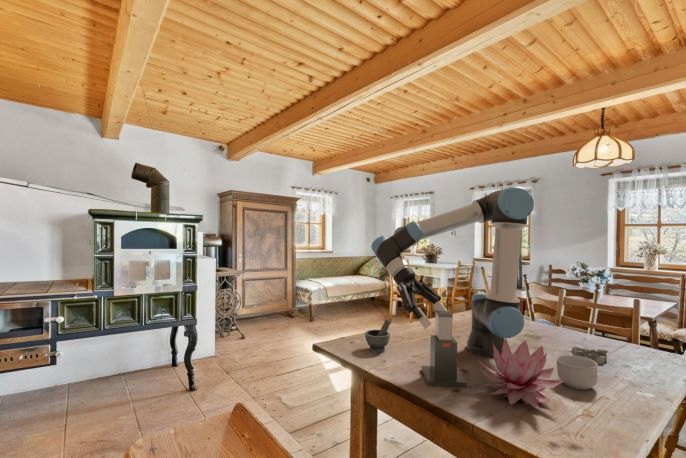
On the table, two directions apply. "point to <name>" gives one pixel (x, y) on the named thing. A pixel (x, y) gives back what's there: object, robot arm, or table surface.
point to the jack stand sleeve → (443, 365)
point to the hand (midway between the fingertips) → (438, 322)
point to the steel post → (443, 326)
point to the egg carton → (591, 354)
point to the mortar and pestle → (378, 338)
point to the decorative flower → (522, 374)
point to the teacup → (577, 371)
